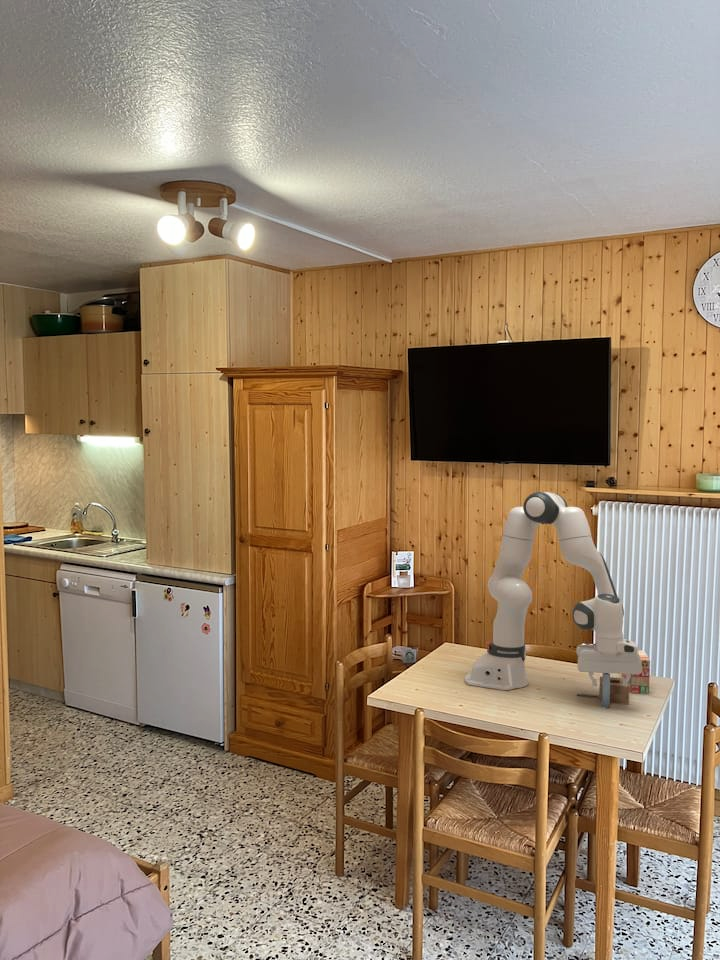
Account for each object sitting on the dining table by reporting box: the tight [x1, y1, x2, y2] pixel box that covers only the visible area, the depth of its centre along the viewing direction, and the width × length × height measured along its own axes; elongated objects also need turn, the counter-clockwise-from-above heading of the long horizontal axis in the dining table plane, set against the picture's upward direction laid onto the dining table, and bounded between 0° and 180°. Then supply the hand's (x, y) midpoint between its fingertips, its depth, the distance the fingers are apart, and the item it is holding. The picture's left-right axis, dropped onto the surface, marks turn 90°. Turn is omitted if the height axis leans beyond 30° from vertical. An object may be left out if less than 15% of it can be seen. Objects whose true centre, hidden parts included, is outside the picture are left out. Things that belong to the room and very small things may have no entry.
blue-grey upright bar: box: [601, 673, 611, 709], centre depth 256 cm, size 2×2×11 cm
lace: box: [576, 693, 599, 699], centre depth 267 cm, size 7×1×1 cm, turn 75°
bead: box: [599, 675, 630, 705], centre depth 264 cm, size 9×9×6 cm
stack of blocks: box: [621, 649, 651, 695], centre depth 280 cm, size 21×6×12 cm, turn 170°
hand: (609, 685), depth 257 cm, fingers open, 8 cm apart
